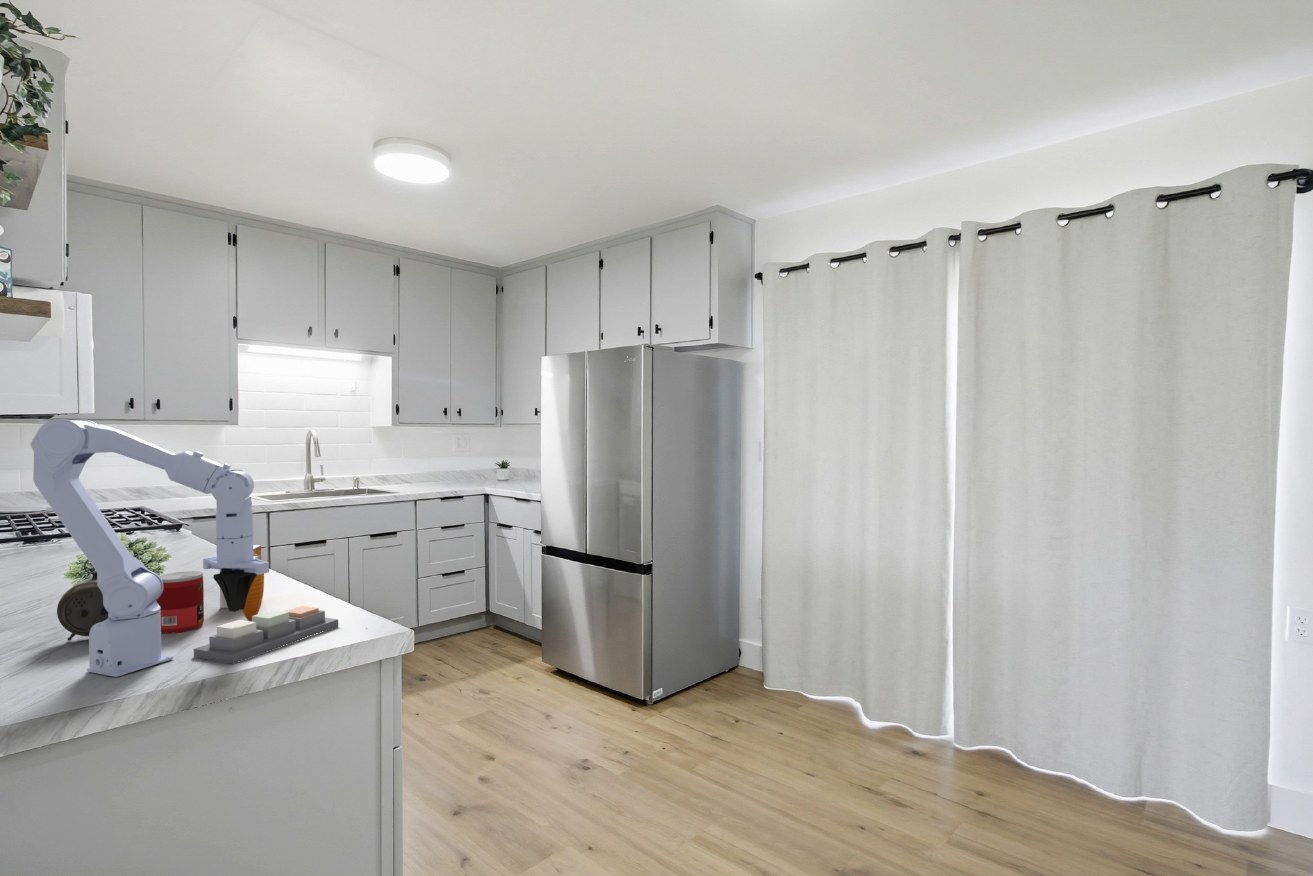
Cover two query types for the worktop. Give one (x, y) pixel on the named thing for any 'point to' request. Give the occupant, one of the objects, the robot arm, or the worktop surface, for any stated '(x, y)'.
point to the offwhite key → (236, 629)
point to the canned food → (181, 601)
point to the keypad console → (264, 639)
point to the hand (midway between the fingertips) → (236, 610)
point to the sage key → (270, 618)
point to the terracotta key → (302, 611)
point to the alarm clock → (82, 607)
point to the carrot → (254, 596)
